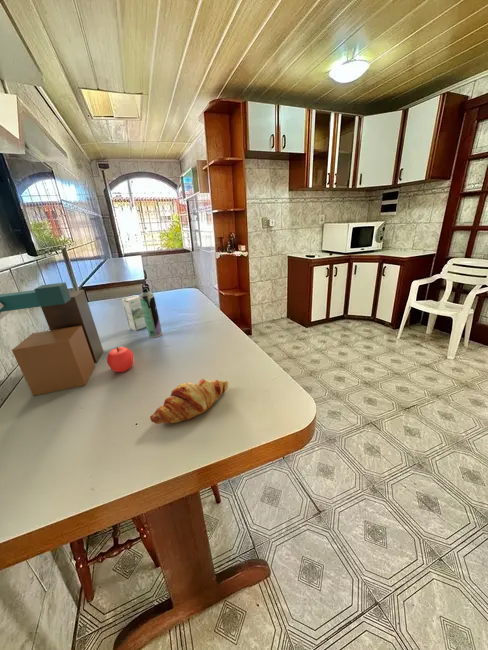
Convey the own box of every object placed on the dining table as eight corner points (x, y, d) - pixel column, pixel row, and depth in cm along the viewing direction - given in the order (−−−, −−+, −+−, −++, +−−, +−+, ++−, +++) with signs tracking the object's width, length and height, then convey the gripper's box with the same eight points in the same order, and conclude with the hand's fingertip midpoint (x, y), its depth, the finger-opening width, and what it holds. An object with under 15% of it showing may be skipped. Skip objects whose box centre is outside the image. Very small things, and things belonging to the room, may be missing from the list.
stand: (65, 369, 91) (38, 301, 82) (74, 355, 100) (51, 293, 91) (96, 363, 93) (74, 296, 84) (103, 350, 102) (83, 289, 93)
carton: (32, 395, 77) (11, 350, 71) (49, 374, 88) (32, 333, 82) (85, 385, 80) (68, 340, 74) (95, 366, 91) (81, 325, 85)
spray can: (163, 335, 111) (153, 288, 103) (150, 338, 108) (139, 291, 101) (160, 331, 115) (150, 285, 108) (147, 334, 113) (136, 288, 105)
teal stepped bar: (-10, 313, 70) (-19, 295, 68) (1, 308, 75) (-7, 291, 73) (65, 303, 74) (59, 286, 72) (71, 299, 78) (65, 282, 77)
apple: (126, 376, 83) (119, 353, 80) (104, 374, 85) (97, 352, 82) (141, 363, 90) (135, 341, 87) (120, 362, 92) (114, 341, 89)
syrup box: (140, 324, 125) (133, 294, 119) (147, 326, 121) (140, 296, 116) (129, 328, 121) (121, 298, 115) (136, 331, 117) (128, 299, 112)
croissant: (223, 394, 76) (213, 368, 76) (242, 393, 68) (230, 364, 68) (151, 433, 63) (139, 401, 64) (163, 438, 55) (150, 402, 55)
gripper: (0, 326, 83) (35, 299, 83) (-48, 355, 65) (-4, 321, 65) (-19, 311, 81) (16, 283, 80) (-76, 337, 62) (-30, 301, 62)
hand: (7, 300), depth 72 cm, fingers closed on teal stepped bar, 4 cm apart
